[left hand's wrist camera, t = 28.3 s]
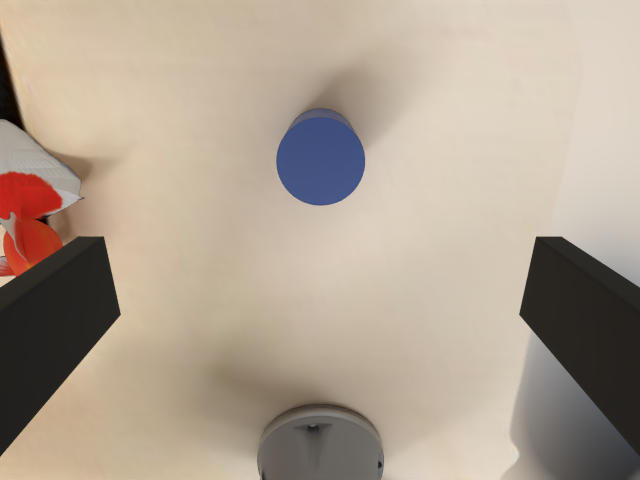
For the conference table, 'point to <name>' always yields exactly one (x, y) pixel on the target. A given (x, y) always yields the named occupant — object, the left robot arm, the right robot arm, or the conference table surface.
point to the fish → (30, 199)
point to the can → (320, 158)
